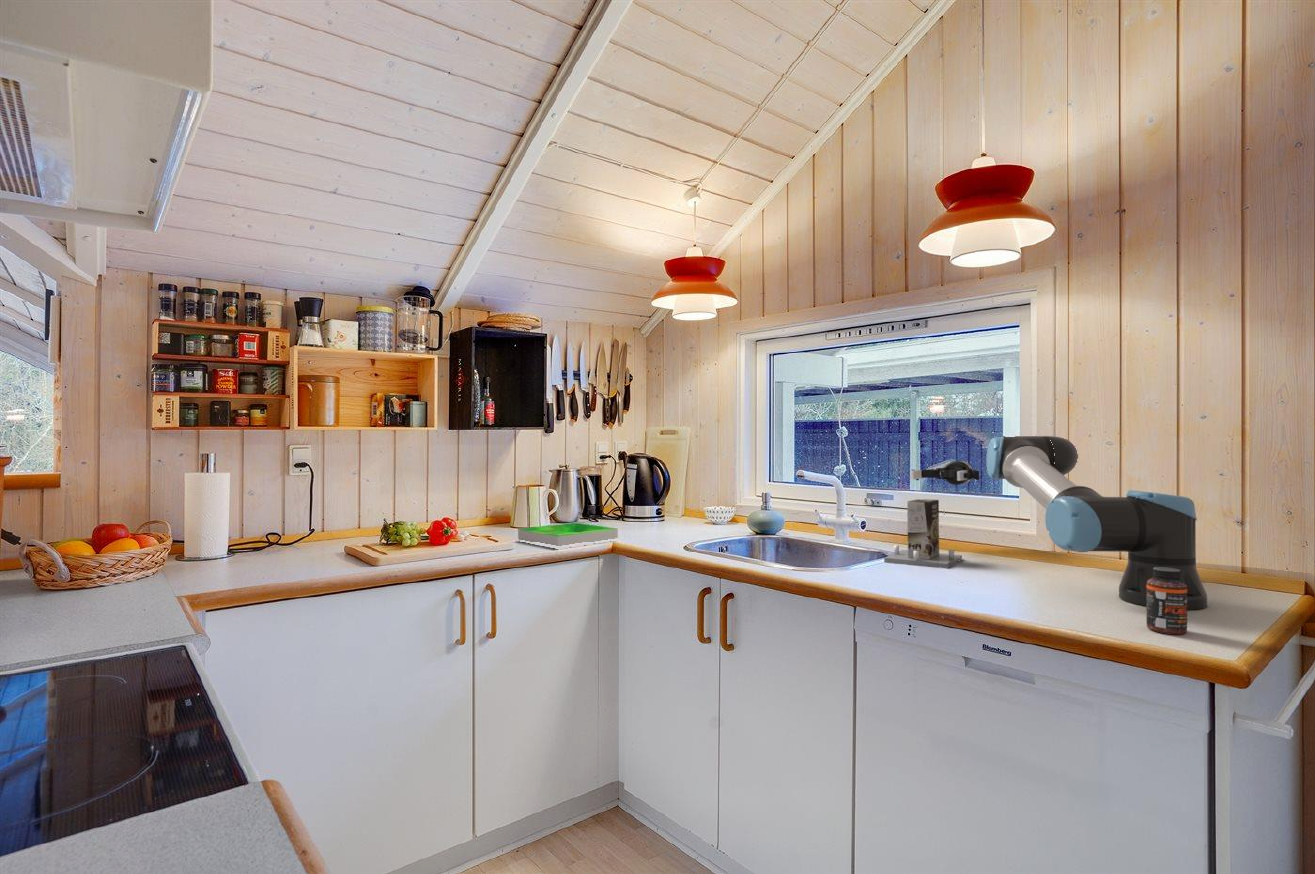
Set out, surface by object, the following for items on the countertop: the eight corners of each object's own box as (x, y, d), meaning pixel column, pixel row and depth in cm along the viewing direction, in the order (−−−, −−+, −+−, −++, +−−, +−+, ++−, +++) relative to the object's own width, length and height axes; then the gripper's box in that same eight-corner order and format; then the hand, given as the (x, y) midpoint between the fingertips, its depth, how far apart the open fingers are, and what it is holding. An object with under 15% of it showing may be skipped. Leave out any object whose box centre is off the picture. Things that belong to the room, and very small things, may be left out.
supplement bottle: (1168, 636, 120) (1167, 572, 120) (1138, 627, 126) (1137, 566, 126) (1196, 634, 121) (1195, 570, 121) (1165, 625, 127) (1164, 564, 127)
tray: (558, 551, 222) (557, 536, 222) (518, 543, 241) (518, 529, 241) (617, 542, 239) (617, 528, 239) (576, 535, 258) (576, 522, 258)
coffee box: (930, 560, 189) (929, 501, 189) (906, 557, 193) (906, 500, 193) (940, 555, 196) (939, 499, 196) (917, 553, 201) (916, 498, 200)
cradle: (947, 568, 183) (947, 554, 183) (884, 561, 194) (884, 548, 194) (962, 559, 196) (961, 546, 196) (902, 553, 206) (902, 541, 206)
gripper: (1001, 485, 210) (979, 489, 194) (920, 483, 227) (893, 486, 211) (1000, 461, 210) (978, 463, 194) (919, 460, 227) (893, 462, 211)
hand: (934, 475), depth 202 cm, fingers open, 13 cm apart
